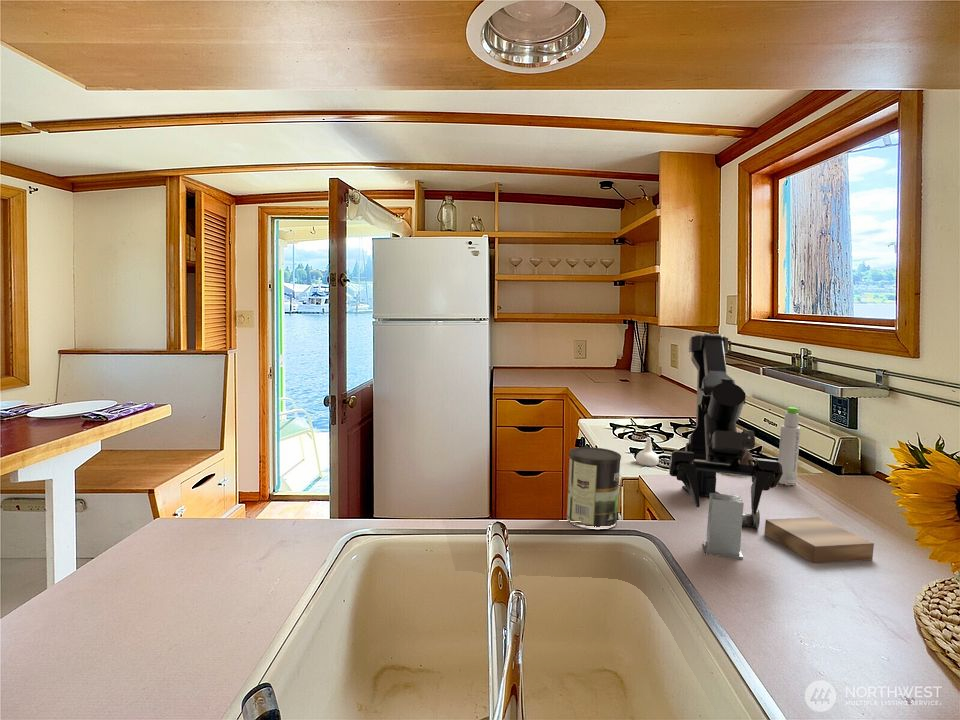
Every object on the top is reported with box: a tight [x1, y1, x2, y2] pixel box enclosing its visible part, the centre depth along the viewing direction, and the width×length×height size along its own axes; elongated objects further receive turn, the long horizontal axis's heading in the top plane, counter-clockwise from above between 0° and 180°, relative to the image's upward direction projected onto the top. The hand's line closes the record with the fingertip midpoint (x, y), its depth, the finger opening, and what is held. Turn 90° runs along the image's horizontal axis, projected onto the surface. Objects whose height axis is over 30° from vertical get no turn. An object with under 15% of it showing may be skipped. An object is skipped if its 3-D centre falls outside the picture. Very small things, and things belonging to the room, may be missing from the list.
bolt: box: [742, 509, 761, 529], centre depth 105 cm, size 6×4×4 cm, turn 70°
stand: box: [763, 516, 875, 564], centre depth 96 cm, size 12×12×3 cm
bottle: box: [777, 406, 802, 486], centre depth 134 cm, size 4×4×20 cm
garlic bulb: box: [635, 436, 660, 467], centre depth 149 cm, size 6×6×8 cm
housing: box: [702, 493, 744, 560], centre depth 92 cm, size 4×6×10 cm
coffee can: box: [566, 446, 622, 527], centre depth 105 cm, size 10×10×14 cm
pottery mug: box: [739, 449, 755, 466], centre depth 146 cm, size 12×10×8 cm
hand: (725, 510), depth 92 cm, fingers open, 9 cm apart
